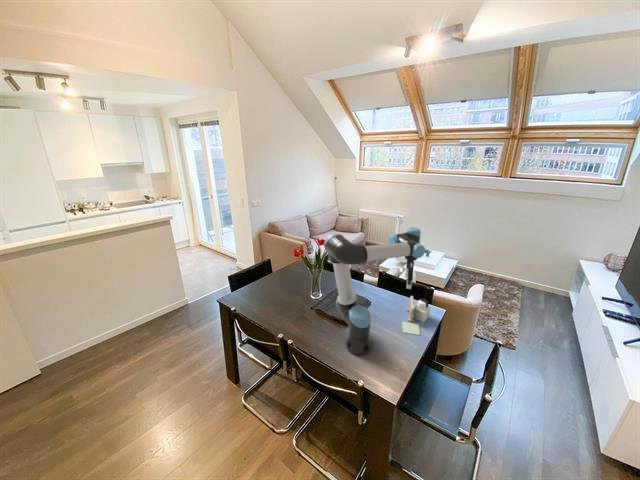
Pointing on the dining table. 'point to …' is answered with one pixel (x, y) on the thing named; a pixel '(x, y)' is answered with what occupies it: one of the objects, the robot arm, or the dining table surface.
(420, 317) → the container
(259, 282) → the dining table surface
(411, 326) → the mat
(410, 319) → the screen
